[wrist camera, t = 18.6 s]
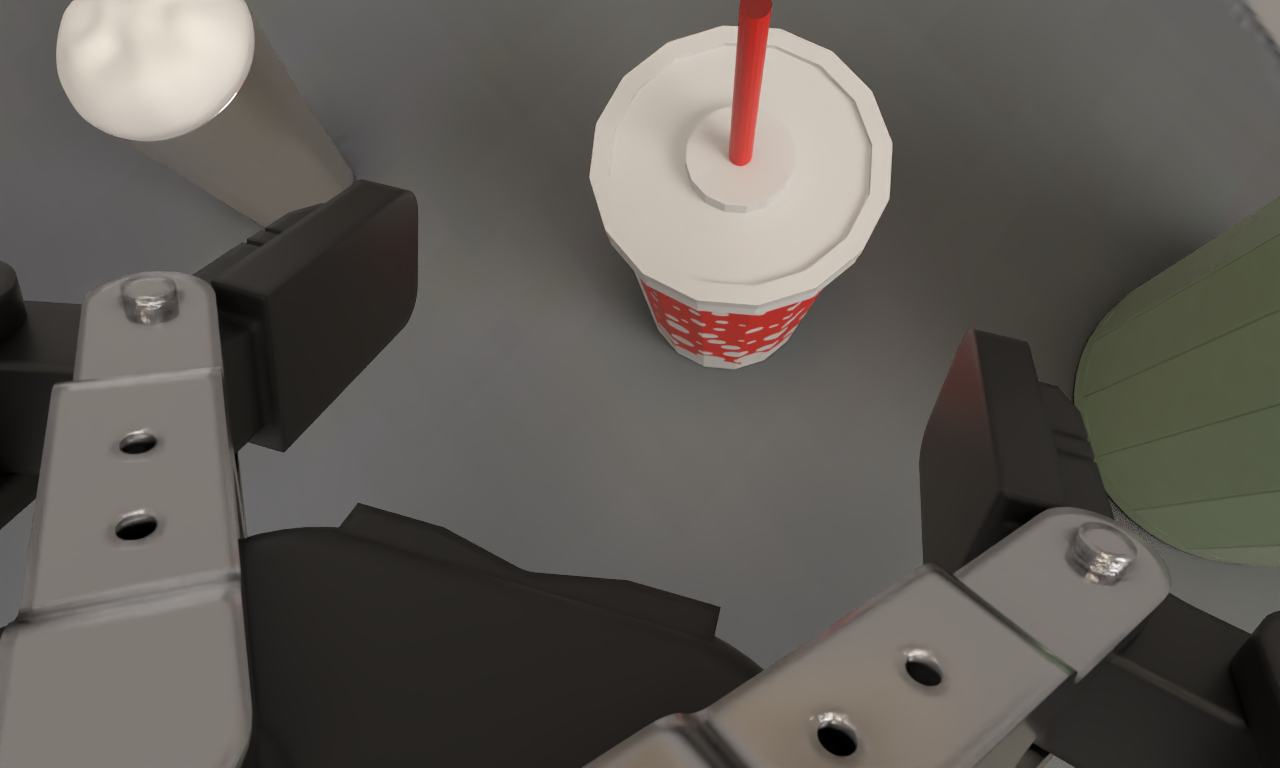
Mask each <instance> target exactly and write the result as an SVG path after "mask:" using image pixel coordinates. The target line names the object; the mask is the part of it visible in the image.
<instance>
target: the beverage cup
mask: <svg viewBox="0 0 1280 768" xmlns="http://www.w3.org/2000/svg"><path fill="white" fill-rule="evenodd" d="M771 8H772V2H771V0H741V1H740V9H739V23H738V27H737V26H720V27H717V28H714V29H710V30H707V31H704V32H701V33H697V34H694V35H691V36H687V37H684V38H681V39H678V40H674V41H671V42H668V43H667V44H665V45H664V46H663V47H661V48H660V49H659V50H658V51H656V52H655V53H654V54H652V55H651V56H650V57H649V58H647V59H646V60H645V61H643V62H642V63H641V64H639V65H638V66H637V67H636V68H634V69H633V70H632V71H630V72H629V73H628V74H626V75H625V76H624V77H623V79H622V80H621V82H620V84H619V86H618V87H617V89H616V91H615V92H614V94H613V96H612V97H611V99H610V101H609V103H608V104H607V106H606V108H605V109H604V111H603V113H602V114H601V116H600V118H599V120H598V121H597V123H596V128H595V136H594V144H593V152H592V160H591V169H590V177H589V178H590V182H591V185H592V188H593V192H594V195H595V198H596V201H597V205H598V208H599V211H600V214H601V218H602V221H603V224H604V227H605V231H606V234H607V236H608V237H609V240H610V243H611V245H612V246H613V247H614V248H615V249H616V251H617V252H618V253H619V254H620V255H621V256H622V258H623V259H624V260H625V261H626V262H627V263H628V265H629V266H630V267H631V268H632V269H633V270H634V272H635V274H636V277H637V279H638V282H639V284H640V287H641V289H642V292H643V294H644V296H645V299H646V301H647V304H648V306H649V309H650V311H651V314H652V316H653V318H654V321H655V323H656V326H657V328H658V331H659V332H660V333H661V334H662V335H663V337H664V338H665V339H666V340H667V341H668V342H669V344H670V345H671V346H672V347H673V348H674V349H675V351H676V352H677V353H679V354H681V355H682V356H684V357H686V358H688V359H690V360H692V361H694V362H696V363H698V364H700V365H702V366H704V367H715V368H726V369H737V368H740V367H744V366H747V365H750V364H754V363H757V362H760V361H763V360H765V359H766V358H767V357H768V356H770V355H771V354H772V353H773V352H775V351H776V350H777V349H778V348H779V347H781V346H782V345H783V344H784V343H786V342H787V341H788V339H789V338H790V336H791V335H792V333H793V332H794V330H795V329H796V327H797V326H798V324H799V323H800V321H801V320H802V318H803V317H804V316H805V314H806V313H807V311H808V310H809V308H810V307H811V305H812V304H813V302H814V301H815V299H816V298H817V296H818V295H819V293H820V292H821V291H822V289H823V288H824V287H825V286H827V285H828V284H829V283H830V282H832V281H833V280H834V279H835V278H836V277H838V276H839V275H840V274H841V273H843V272H844V271H845V270H846V269H848V268H849V267H850V266H851V265H852V264H854V263H855V261H856V259H857V257H858V256H859V255H861V253H862V251H863V249H864V247H865V245H866V243H867V241H868V239H869V237H870V235H871V234H872V232H873V230H874V228H875V226H876V224H877V222H878V220H879V218H880V216H881V214H882V212H883V210H884V208H885V207H886V205H887V203H888V201H889V199H890V180H891V161H892V141H891V138H890V136H889V133H888V131H887V128H886V125H885V123H884V120H883V118H882V115H881V113H880V110H879V108H878V105H877V103H876V100H875V98H874V95H873V92H872V91H871V90H870V89H869V88H868V87H867V86H866V85H865V84H864V83H863V82H862V81H861V80H860V79H859V78H858V77H857V76H856V75H855V74H854V73H853V72H852V71H851V70H850V69H849V68H848V67H847V66H846V65H845V64H844V63H843V62H842V61H841V60H840V59H839V58H838V57H837V56H836V55H835V54H834V53H833V52H832V51H830V50H828V49H825V48H823V47H821V46H818V45H816V44H814V43H812V42H809V41H807V40H805V39H802V38H800V37H798V36H796V35H793V34H791V33H789V32H786V31H784V30H782V29H774V28H769V24H770V16H771Z"/></svg>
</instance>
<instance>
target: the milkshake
mask: <svg viewBox="0 0 1280 768" xmlns="http://www.w3.org/2000/svg"><path fill="white" fill-rule="evenodd" d="M56 62H57V71H58V76H59V79H60V82H61V84H62V87H63V89H64V91H65V93H66V95H67V96H68V98H69V100H70V102H71V103H72V105H73V106H74V108H75V109H76V110H77V112H78V113H79V114H80V115H81V116H82V117H83V118H84V119H85V120H86V121H88V122H89V123H90V124H92V125H93V126H95V127H96V128H98V129H100V130H102V131H104V132H106V133H108V134H110V135H111V136H113V137H115V138H117V139H118V140H120V141H122V142H124V143H125V144H127V145H129V146H131V147H132V148H134V149H136V150H138V151H140V152H141V153H143V154H145V155H147V156H148V157H150V158H152V159H154V160H155V161H157V162H159V163H161V164H162V165H164V166H166V167H168V168H169V169H171V170H173V171H174V172H176V173H178V174H179V175H181V176H183V177H184V178H186V179H187V180H189V181H190V182H192V183H194V184H195V185H197V186H198V187H200V188H202V189H203V190H205V191H207V192H208V193H210V194H211V195H213V196H215V197H216V198H218V199H219V200H221V201H223V202H224V203H226V204H228V205H229V206H231V207H232V208H234V209H236V210H237V211H239V212H240V213H242V214H244V215H245V216H247V217H249V218H250V219H252V220H253V221H255V222H257V223H258V224H260V225H262V226H263V227H265V228H266V227H267V226H268V225H270V224H271V223H273V222H275V221H276V220H278V219H279V218H281V217H282V216H284V215H285V214H287V213H288V212H292V211H295V210H299V209H302V208H305V207H309V206H312V205H315V204H319V203H326V202H327V201H329V200H330V199H332V198H333V197H335V196H336V195H338V194H339V193H341V192H342V191H343V190H345V189H346V188H348V187H349V186H351V185H352V184H353V177H354V173H353V171H352V170H351V168H350V166H349V165H348V163H347V162H346V161H345V159H344V158H343V156H342V155H341V153H340V152H339V150H338V149H337V147H336V146H335V144H334V143H333V141H332V140H331V138H330V137H329V135H328V134H327V132H326V131H325V129H324V128H323V126H322V125H321V123H320V122H319V120H318V119H317V118H316V116H315V115H314V113H313V112H312V110H311V109H310V107H309V106H308V104H307V103H306V101H305V100H304V98H303V97H302V95H301V94H300V92H299V90H298V89H297V87H296V86H295V84H294V82H293V81H292V79H291V77H290V76H289V74H288V72H287V71H286V69H285V67H284V65H283V64H282V62H281V60H280V59H279V57H278V55H277V54H276V52H275V50H274V49H273V47H272V46H271V44H270V42H269V41H268V39H267V37H266V36H265V34H264V32H263V31H262V29H261V27H260V26H259V24H258V23H257V21H256V19H255V18H254V16H253V14H252V13H251V11H250V9H249V8H248V6H247V5H246V3H245V1H244V0H73V1H72V2H71V4H70V5H69V6H68V7H67V9H66V10H65V12H64V14H63V17H62V20H61V24H60V28H59V33H58V39H57V48H56Z"/></svg>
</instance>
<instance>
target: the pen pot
mask: <svg viewBox="0 0 1280 768" xmlns="http://www.w3.org/2000/svg"><path fill="white" fill-rule="evenodd" d="M1074 405H1075V406H1076V408H1077V409H1078V410H1079V411H1080V412H1081V415H1082V418H1083V422H1084V425H1085V428H1086V431H1087V434H1088V439H1087V441H1089V442H1090V444H1091V447H1092V450H1093V453H1094V456H1095V458H1094V462H1096V463H1097V466H1098V469H1099V472H1100V475H1101V478H1102V481H1103V485H1104V488H1105V491H1106V492H1107V493H1108V495H1109V496H1110V497H1111V498H1112V500H1113V501H1114V502H1115V503H1116V504H1117V505H1118V506H1119V507H1120V508H1121V509H1122V510H1123V511H1124V513H1125V514H1126V515H1127V516H1128V517H1129V518H1131V519H1132V520H1133V521H1134V522H1136V523H1137V524H1138V525H1139V526H1141V527H1142V528H1143V529H1144V530H1146V531H1147V532H1149V533H1150V534H1152V535H1153V536H1155V537H1157V538H1158V539H1160V540H1161V541H1163V542H1165V543H1167V544H1169V545H1171V546H1173V547H1175V548H1177V549H1180V550H1182V551H1184V552H1187V553H1190V554H1193V555H1196V556H1199V557H1202V558H1205V559H1209V560H1214V561H1219V562H1224V563H1234V564H1245V565H1249V566H1256V567H1280V197H1278V198H1277V199H1275V200H1274V201H1272V202H1271V203H1269V204H1267V205H1266V206H1264V207H1263V208H1261V209H1260V210H1258V211H1257V212H1255V213H1253V214H1252V215H1250V216H1249V217H1247V218H1246V219H1244V220H1242V221H1241V222H1239V223H1238V224H1236V225H1235V226H1233V227H1232V228H1230V229H1228V230H1227V231H1225V232H1224V233H1222V234H1221V235H1219V236H1218V237H1216V238H1214V239H1213V240H1211V241H1210V242H1208V243H1207V244H1205V245H1203V246H1202V247H1200V248H1199V249H1197V250H1196V251H1194V252H1193V253H1191V254H1189V255H1188V256H1186V257H1185V258H1183V259H1182V260H1180V261H1179V262H1177V263H1175V264H1174V265H1172V266H1171V267H1169V268H1168V269H1166V270H1164V271H1163V272H1161V273H1160V274H1158V275H1157V276H1155V277H1154V278H1152V279H1150V280H1149V281H1147V282H1146V283H1144V284H1143V285H1141V286H1140V287H1138V288H1136V289H1135V290H1133V291H1132V292H1130V293H1129V294H1128V295H1126V296H1125V297H1124V298H1123V299H1122V300H1121V301H1120V302H1119V303H1118V304H1117V305H1116V306H1115V307H1113V308H1112V309H1111V310H1110V311H1109V312H1108V313H1107V314H1106V316H1105V317H1104V318H1103V319H1102V320H1101V322H1100V323H1099V324H1098V325H1097V327H1096V328H1095V330H1094V332H1093V333H1092V335H1091V337H1090V338H1089V340H1088V342H1087V344H1086V347H1085V349H1084V351H1083V354H1082V356H1081V359H1080V363H1079V367H1078V370H1077V374H1076V382H1075V390H1074Z"/></svg>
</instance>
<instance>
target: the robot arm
mask: <svg viewBox="0 0 1280 768" xmlns="http://www.w3.org/2000/svg"><path fill="white" fill-rule="evenodd" d="M417 288H418V206H417V200H416V197H415V195H414V194H413V193H412V192H411V191H408V190H404V189H400V188H396V187H392V186H387V185H383V184H379V183H375V182H371V181H367V180H359V181H357V182H355V183H354V184H352V185H351V186H349V187H348V188H346V189H345V190H343V191H342V192H341V193H339V194H338V195H336V196H335V197H333V198H332V199H330V200H329V201H327V202H326V203H319V204H315V205H312V206H309V207H305V208H302V209H299V210H295V211H292V212H288V213H287V214H285V215H284V216H282V217H281V218H279V219H278V220H276V221H275V222H273V223H271V224H270V225H268V226H267V227H266V229H265V231H262V230H261V231H259V232H258V233H256V234H255V235H253V236H252V237H250V238H248V239H247V243H243V242H242V243H241V244H239V245H238V246H236V247H235V248H233V249H232V250H230V251H229V252H227V253H225V254H224V255H222V256H221V257H219V258H218V259H216V260H215V261H213V262H212V263H210V264H209V265H207V266H206V267H204V268H202V269H201V270H199V271H198V272H196V273H195V274H193V275H189V274H184V273H179V272H170V271H148V272H139V273H133V274H127V275H123V276H119V277H116V278H113V279H110V280H108V281H106V282H104V283H101V284H99V285H98V286H96V287H95V288H93V289H92V290H91V291H90V292H89V293H87V295H86V296H85V298H84V299H83V302H82V304H68V303H53V302H37V301H23V297H22V294H21V290H20V287H19V283H18V280H17V276H16V273H15V271H14V269H13V268H12V267H11V266H9V265H8V264H6V263H4V262H2V261H0V529H1V528H2V527H4V526H5V525H6V524H7V523H8V522H9V521H11V520H12V519H13V518H14V517H15V516H16V515H17V514H19V513H20V512H21V511H22V510H23V509H24V508H25V507H27V506H28V505H29V504H30V503H31V502H32V501H33V500H35V499H36V502H35V509H34V516H33V523H32V530H31V537H30V544H29V551H28V557H27V564H26V571H25V578H24V585H23V592H22V599H21V605H20V610H19V613H18V616H17V618H16V619H15V620H14V621H12V622H10V623H9V624H8V625H7V626H4V627H2V628H0V768H1043V767H1044V766H1045V765H1046V764H1047V763H1048V762H1049V761H1050V760H1051V759H1052V757H1053V756H1054V755H1055V756H1056V757H1058V758H1060V759H1061V760H1063V761H1065V762H1067V763H1068V764H1070V765H1072V766H1074V767H1075V768H1280V611H1277V612H1273V613H1271V614H1269V615H1267V616H1266V618H1265V619H1264V620H1263V621H1262V622H1261V623H1260V624H1259V626H1258V627H1257V628H1256V629H1255V631H1254V632H1253V633H1252V634H1250V633H1247V632H1245V631H1243V630H1241V629H1239V628H1237V627H1235V626H1233V625H1231V624H1229V623H1227V622H1225V621H1223V620H1220V619H1218V618H1216V617H1214V616H1212V615H1210V614H1208V613H1206V612H1204V611H1202V610H1200V609H1198V608H1196V607H1194V606H1192V605H1190V604H1188V603H1186V602H1184V601H1182V600H1180V599H1179V598H1177V597H1176V596H1174V595H1172V594H1171V593H1169V592H1170V589H1171V576H1170V573H1169V570H1168V568H1167V566H1166V564H1165V562H1164V560H1163V559H1162V558H1161V556H1160V555H1159V554H1158V552H1157V551H1156V550H1155V549H1154V548H1153V547H1152V546H1151V545H1150V544H1149V543H1148V542H1146V541H1145V540H1144V539H1143V538H1142V537H1141V536H1139V535H1138V534H1136V533H1135V532H1134V531H1132V530H1131V529H1129V528H1127V527H1126V526H1124V525H1122V524H1121V523H1119V522H1117V521H1115V519H1114V516H1113V513H1112V510H1111V507H1110V504H1109V500H1108V497H1107V494H1106V491H1105V488H1104V485H1103V481H1102V478H1101V475H1100V472H1099V469H1098V466H1097V463H1096V462H1094V458H1095V456H1094V453H1093V450H1092V447H1091V444H1090V442H1089V441H1087V439H1088V434H1087V431H1086V428H1085V425H1084V422H1083V418H1082V415H1081V412H1080V411H1079V410H1078V409H1077V408H1076V406H1075V405H1074V404H1073V403H1072V402H1071V401H1070V400H1069V399H1068V397H1067V396H1066V395H1065V394H1064V393H1063V392H1062V391H1061V390H1060V389H1059V387H1058V386H1054V385H1050V384H1046V383H1042V382H1038V378H1037V374H1036V371H1035V367H1034V363H1033V359H1032V355H1031V351H1030V347H1029V345H1028V343H1027V342H1025V341H1021V340H1017V339H1013V338H1008V337H1004V336H1000V335H996V334H992V333H988V332H984V331H980V330H975V329H970V330H969V331H968V332H967V333H966V335H965V336H964V338H963V340H962V342H961V344H960V346H959V349H958V351H957V353H956V356H955V358H954V361H953V363H952V365H951V368H950V370H949V373H948V375H947V377H946V380H945V382H944V385H943V387H942V389H941V392H940V394H939V397H938V399H937V401H936V404H935V406H934V409H933V411H932V413H931V416H930V418H929V421H928V423H927V426H926V429H925V433H924V436H923V440H922V445H921V450H920V459H919V471H920V495H921V519H922V543H923V565H922V566H921V567H919V568H917V569H916V570H914V571H913V572H911V573H910V574H908V575H907V576H905V577H904V578H902V579H901V580H899V581H898V582H896V583H895V584H893V585H892V586H890V587H889V588H887V589H886V590H884V591H883V592H881V593H880V594H878V595H877V596H875V597H874V598H872V599H871V600H869V601H868V602H866V603H865V604H863V605H862V606H860V607H859V608H857V609H855V610H854V611H852V612H851V613H849V614H848V615H846V616H845V617H843V618H842V619H840V620H839V621H837V622H836V623H834V624H833V625H831V626H830V627H828V628H827V629H825V630H824V631H822V632H821V633H819V634H818V635H816V636H815V637H813V638H812V639H810V640H809V641H807V642H806V643H804V644H803V645H801V646H800V647H798V648H797V649H795V650H794V651H792V652H790V653H789V654H787V655H786V656H784V657H783V658H781V659H780V660H778V661H777V662H775V663H774V664H772V665H771V666H769V667H768V668H766V669H765V670H763V669H762V668H761V667H760V666H759V665H757V664H756V663H755V662H754V661H753V660H751V659H750V658H749V657H747V656H746V655H744V654H743V653H741V652H740V651H738V650H737V649H736V648H734V647H733V646H731V645H730V644H728V643H726V642H724V641H723V640H721V639H719V638H717V637H715V636H714V635H715V630H716V626H717V621H718V617H719V612H720V607H718V606H715V605H712V604H708V603H705V602H701V601H698V600H694V599H691V598H687V597H684V596H680V595H677V594H673V593H670V592H666V591H663V590H659V589H656V588H652V587H649V586H646V585H642V584H639V583H635V582H632V581H628V580H616V579H604V578H593V577H581V576H569V575H557V574H546V573H535V572H529V571H526V570H523V569H520V568H518V567H516V566H514V565H513V564H511V563H509V562H507V561H505V560H503V559H501V558H500V557H498V556H496V555H494V554H492V553H490V552H488V551H487V550H485V549H483V548H481V547H479V546H477V545H475V544H474V543H472V542H470V541H468V540H466V539H464V538H462V537H461V536H459V535H457V534H455V533H453V532H451V531H450V530H448V529H446V528H444V527H441V526H437V525H434V524H430V523H427V522H423V521H420V520H416V519H413V518H409V517H406V516H402V515H399V514H395V513H392V512H388V511H385V510H381V509H378V508H375V507H371V506H368V505H364V504H361V503H358V504H357V505H356V506H355V508H354V509H353V510H352V511H351V513H350V514H349V515H348V517H347V518H346V519H345V520H344V522H343V523H342V524H341V525H340V527H339V528H337V527H303V528H293V529H283V530H278V531H272V532H267V533H261V534H257V535H254V536H250V537H248V535H247V526H246V517H245V507H244V498H243V489H242V480H241V471H240V464H239V457H238V451H239V450H240V449H241V448H242V447H243V446H244V445H245V444H246V443H247V442H249V443H252V444H256V445H259V446H263V447H267V448H270V449H274V450H277V451H281V452H285V451H286V450H287V449H288V448H289V447H290V446H291V445H292V444H293V443H294V442H295V441H296V440H297V438H298V437H299V436H300V435H301V434H302V433H303V432H304V431H305V430H306V429H307V428H308V427H309V426H310V425H311V424H312V423H313V422H314V421H315V420H316V419H317V418H318V417H319V416H320V414H321V413H322V412H323V411H324V410H325V409H326V408H327V407H328V406H329V405H330V404H331V403H332V402H333V401H334V400H335V399H336V398H337V397H338V396H339V395H340V394H341V393H342V392H343V391H344V389H345V388H346V387H347V386H348V385H349V384H350V383H351V382H352V381H353V380H354V379H355V378H356V377H357V376H358V375H359V374H360V373H361V372H362V371H363V370H364V369H365V368H366V367H367V365H368V364H369V363H370V362H371V361H372V360H373V359H374V358H375V357H376V356H377V355H378V354H379V353H380V352H381V351H382V350H383V349H384V348H385V347H386V346H387V345H388V344H389V343H390V342H391V340H392V339H393V338H394V337H395V336H396V335H397V334H398V333H399V332H400V331H401V330H402V329H403V328H404V327H405V325H406V324H407V322H408V321H409V319H410V317H411V314H412V312H413V309H414V306H415V302H416V297H417Z"/></svg>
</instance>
